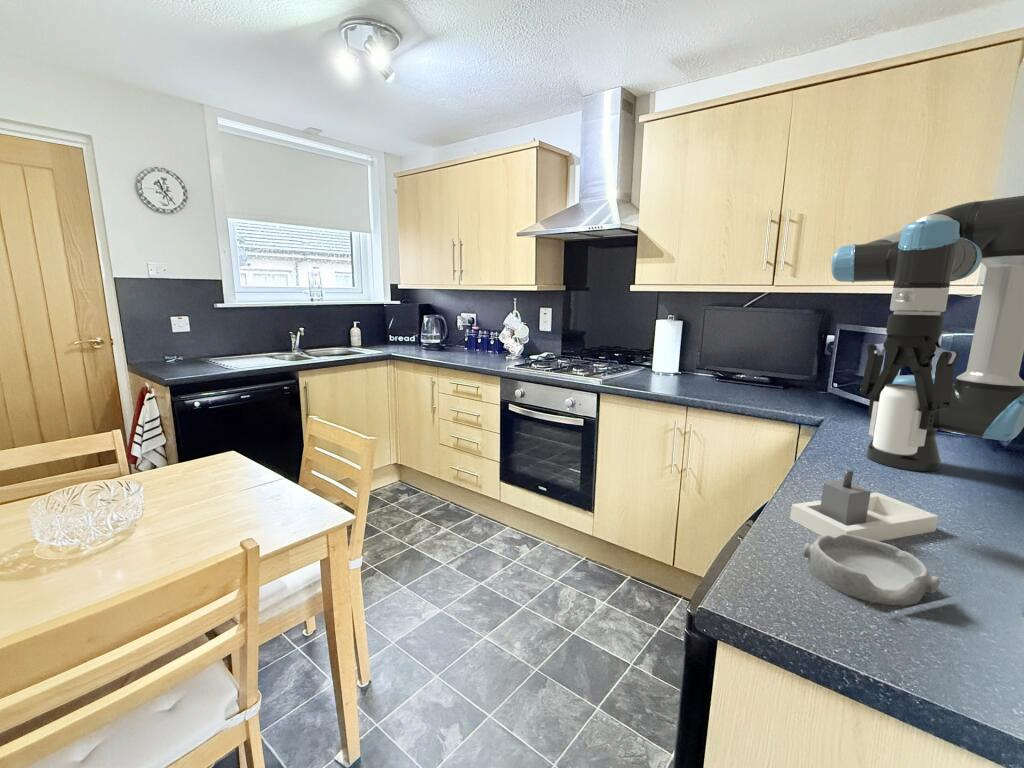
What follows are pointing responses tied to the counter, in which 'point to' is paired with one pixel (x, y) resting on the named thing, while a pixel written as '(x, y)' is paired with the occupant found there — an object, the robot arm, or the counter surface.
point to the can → (895, 419)
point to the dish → (869, 570)
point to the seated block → (845, 501)
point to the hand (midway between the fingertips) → (895, 439)
